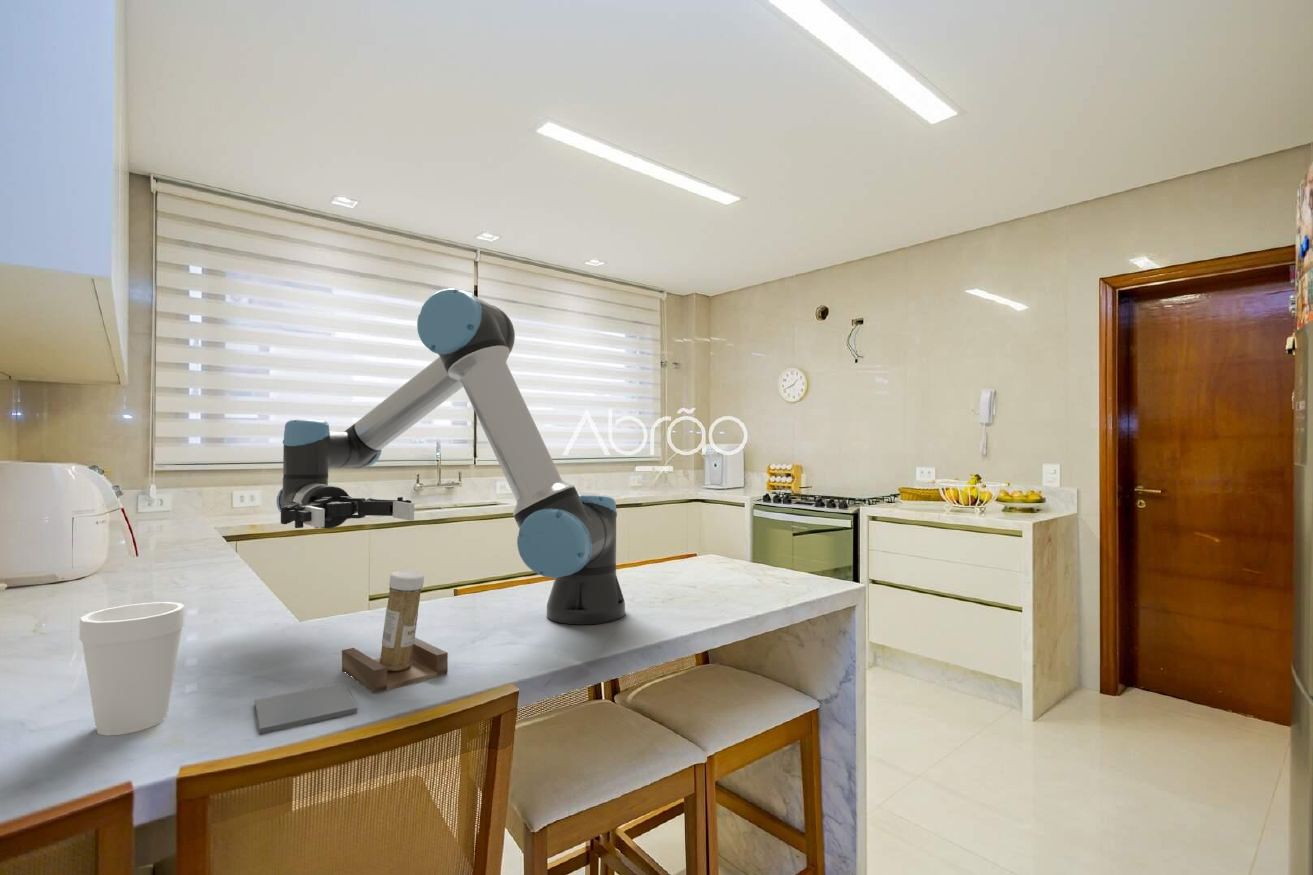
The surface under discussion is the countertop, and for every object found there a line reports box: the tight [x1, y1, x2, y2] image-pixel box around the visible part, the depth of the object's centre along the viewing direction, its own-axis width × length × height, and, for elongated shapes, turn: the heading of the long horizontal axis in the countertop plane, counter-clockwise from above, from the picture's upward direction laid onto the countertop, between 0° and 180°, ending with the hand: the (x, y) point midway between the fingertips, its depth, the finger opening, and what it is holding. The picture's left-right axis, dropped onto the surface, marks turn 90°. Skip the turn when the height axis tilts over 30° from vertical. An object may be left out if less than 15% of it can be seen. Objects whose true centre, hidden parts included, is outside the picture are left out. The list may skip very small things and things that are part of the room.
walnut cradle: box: [341, 636, 449, 694], centre depth 90 cm, size 10×12×3 cm
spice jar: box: [379, 570, 425, 671], centre depth 90 cm, size 5×5×14 cm
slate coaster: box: [254, 682, 358, 735], centre depth 78 cm, size 10×10×1 cm
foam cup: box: [78, 601, 186, 736], centre depth 74 cm, size 10×9×13 cm
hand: (369, 514), depth 97 cm, fingers open, 13 cm apart
